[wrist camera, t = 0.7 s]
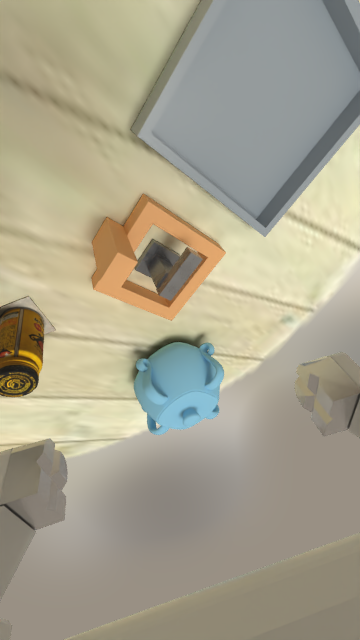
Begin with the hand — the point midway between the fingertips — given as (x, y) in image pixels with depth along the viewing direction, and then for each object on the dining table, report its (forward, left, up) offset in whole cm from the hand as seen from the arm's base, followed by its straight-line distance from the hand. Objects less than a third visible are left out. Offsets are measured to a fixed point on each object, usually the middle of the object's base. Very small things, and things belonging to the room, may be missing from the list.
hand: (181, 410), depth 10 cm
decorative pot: (+30, -25, -34) cm, 52 cm away
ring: (+13, -7, -34) cm, 37 cm away
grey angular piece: (+14, -5, -34) cm, 37 cm away
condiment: (+1, -26, -34) cm, 43 cm away
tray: (+13, +16, -34) cm, 40 cm away
